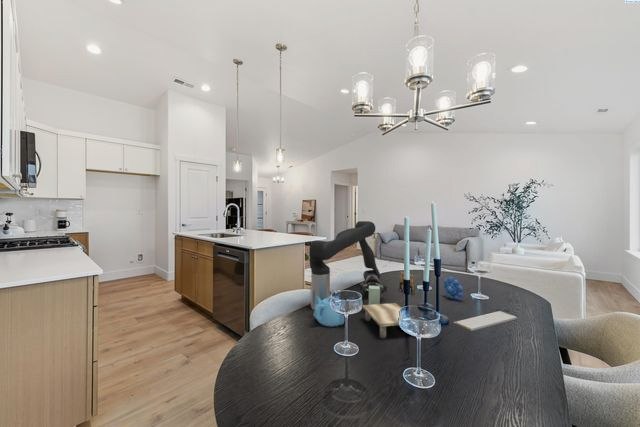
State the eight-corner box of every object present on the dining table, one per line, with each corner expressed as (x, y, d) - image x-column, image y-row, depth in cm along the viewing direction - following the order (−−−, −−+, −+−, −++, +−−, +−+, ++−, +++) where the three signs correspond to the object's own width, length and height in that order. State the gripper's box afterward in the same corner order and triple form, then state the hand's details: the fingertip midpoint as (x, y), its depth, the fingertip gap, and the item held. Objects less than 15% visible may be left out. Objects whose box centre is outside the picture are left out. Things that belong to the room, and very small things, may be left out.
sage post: (368, 313, 126) (369, 288, 126) (368, 310, 131) (368, 285, 131) (379, 314, 125) (379, 289, 125) (379, 310, 130) (379, 286, 130)
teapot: (315, 313, 126) (315, 291, 126) (347, 314, 126) (347, 291, 126) (313, 328, 111) (313, 302, 111) (349, 329, 110) (349, 303, 110)
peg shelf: (380, 339, 101) (380, 324, 101) (362, 318, 121) (362, 305, 121) (419, 336, 104) (419, 320, 104) (395, 316, 124) (395, 303, 124)
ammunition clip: (399, 290, 164) (399, 270, 164) (401, 289, 165) (401, 270, 165) (412, 295, 154) (412, 274, 154) (414, 294, 155) (414, 274, 155)
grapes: (438, 297, 150) (438, 276, 150) (445, 295, 154) (445, 274, 154) (458, 303, 140) (459, 280, 140) (465, 301, 144) (465, 279, 144)
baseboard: (450, 323, 118) (471, 332, 109) (450, 316, 118) (471, 325, 109) (494, 312, 131) (516, 320, 121) (494, 306, 130) (517, 313, 121)
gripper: (360, 275, 156) (359, 283, 140) (385, 276, 154) (387, 284, 138) (360, 288, 156) (359, 297, 140) (385, 289, 154) (387, 299, 138)
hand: (373, 291), depth 139 cm, fingers open, 8 cm apart
